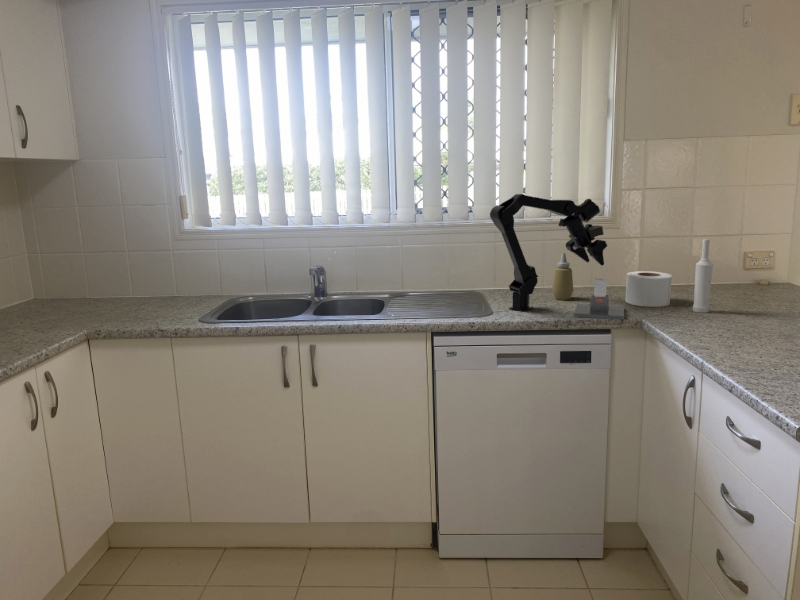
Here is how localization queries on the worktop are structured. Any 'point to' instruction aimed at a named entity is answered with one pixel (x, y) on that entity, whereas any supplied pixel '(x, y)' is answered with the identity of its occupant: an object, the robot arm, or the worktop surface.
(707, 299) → the bottle
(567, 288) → the squeeze bottle
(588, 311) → the stand
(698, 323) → the worktop surface
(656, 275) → the white toilet paper roll
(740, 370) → the worktop surface
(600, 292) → the column
